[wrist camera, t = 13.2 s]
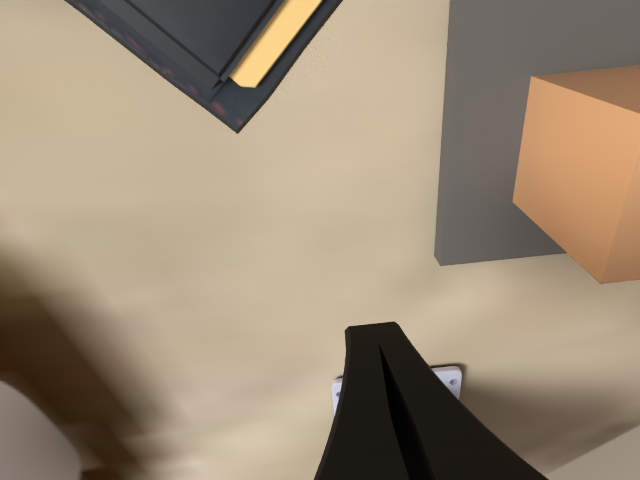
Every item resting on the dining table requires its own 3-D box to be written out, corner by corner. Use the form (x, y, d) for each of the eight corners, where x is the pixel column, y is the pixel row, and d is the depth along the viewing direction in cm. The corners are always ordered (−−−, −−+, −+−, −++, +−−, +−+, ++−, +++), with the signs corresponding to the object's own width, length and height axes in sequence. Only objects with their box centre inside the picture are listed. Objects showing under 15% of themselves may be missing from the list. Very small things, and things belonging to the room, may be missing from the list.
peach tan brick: (629, 189, 20) (763, 265, 15) (512, 201, 20) (600, 283, 15) (667, 62, 18) (849, 95, 12) (531, 75, 18) (648, 116, 12)
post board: (658, 232, 23) (767, 302, 18) (434, 255, 23) (478, 333, 18) (753, -36, 17) (959, -47, 12) (450, -8, 17) (524, -7, 12)
